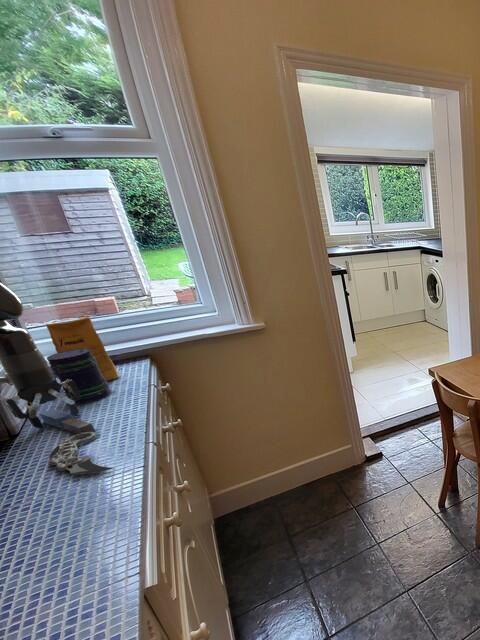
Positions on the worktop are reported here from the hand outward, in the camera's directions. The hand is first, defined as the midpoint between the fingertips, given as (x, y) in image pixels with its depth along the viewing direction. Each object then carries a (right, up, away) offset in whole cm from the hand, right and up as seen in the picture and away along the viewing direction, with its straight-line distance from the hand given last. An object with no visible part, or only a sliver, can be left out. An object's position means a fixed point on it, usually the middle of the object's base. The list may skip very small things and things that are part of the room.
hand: (58, 421), depth 116 cm
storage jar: (-7, +6, +16) cm, 19 cm away
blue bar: (0, 0, 0) cm, 1 cm away
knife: (+24, -7, -17) cm, 31 cm away
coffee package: (-19, +12, +29) cm, 36 cm away
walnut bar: (+11, -2, -4) cm, 12 cm away
